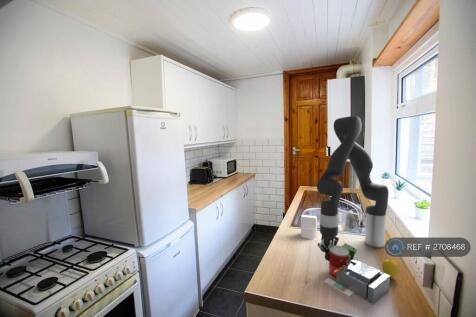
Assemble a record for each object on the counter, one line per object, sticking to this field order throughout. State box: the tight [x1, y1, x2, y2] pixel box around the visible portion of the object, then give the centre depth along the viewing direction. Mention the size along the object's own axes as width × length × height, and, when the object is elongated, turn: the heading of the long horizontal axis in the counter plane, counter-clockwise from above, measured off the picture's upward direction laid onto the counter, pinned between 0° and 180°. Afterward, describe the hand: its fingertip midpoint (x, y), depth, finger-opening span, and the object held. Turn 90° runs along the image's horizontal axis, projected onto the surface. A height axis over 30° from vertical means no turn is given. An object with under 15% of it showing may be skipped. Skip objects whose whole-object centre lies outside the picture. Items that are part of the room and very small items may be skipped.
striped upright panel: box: [323, 277, 355, 297], centre depth 92 cm, size 3×11×1 cm, turn 34°
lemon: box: [381, 258, 399, 278], centre depth 97 cm, size 6×6×8 cm
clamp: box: [341, 242, 358, 262], centre depth 111 cm, size 12×6×9 cm, turn 126°
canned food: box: [328, 245, 350, 279], centre depth 100 cm, size 8×8×11 cm
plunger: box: [334, 262, 353, 273], centre depth 92 cm, size 14×8×7 cm, turn 124°
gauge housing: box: [335, 258, 391, 305], centre depth 92 cm, size 12×14×8 cm
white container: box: [300, 214, 318, 240], centre depth 138 cm, size 9×9×12 cm
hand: (328, 260), depth 104 cm, fingers closed
